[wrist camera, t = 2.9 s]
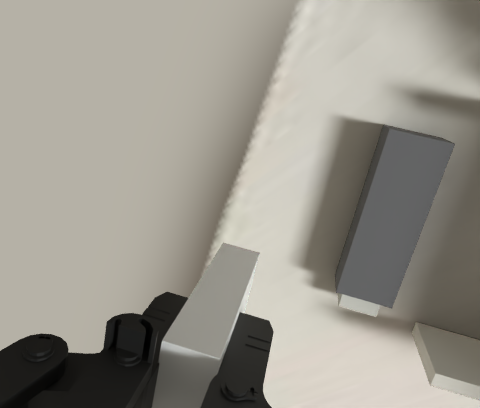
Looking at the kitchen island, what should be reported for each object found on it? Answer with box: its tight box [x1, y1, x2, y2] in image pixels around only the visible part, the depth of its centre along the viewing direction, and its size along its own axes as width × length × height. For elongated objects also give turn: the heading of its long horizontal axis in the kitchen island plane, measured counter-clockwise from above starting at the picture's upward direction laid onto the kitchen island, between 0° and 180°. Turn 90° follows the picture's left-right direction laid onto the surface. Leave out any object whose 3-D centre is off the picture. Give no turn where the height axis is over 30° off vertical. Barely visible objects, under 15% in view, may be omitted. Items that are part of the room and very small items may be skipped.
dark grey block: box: [335, 125, 455, 317], centre depth 29 cm, size 13×4×3 cm, turn 168°
